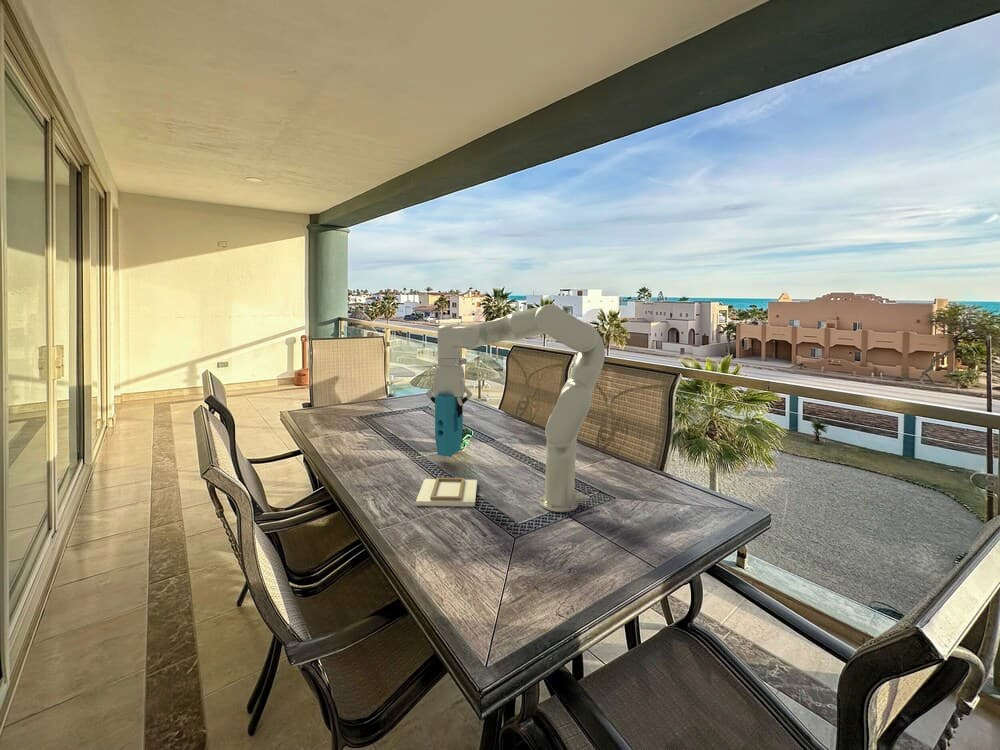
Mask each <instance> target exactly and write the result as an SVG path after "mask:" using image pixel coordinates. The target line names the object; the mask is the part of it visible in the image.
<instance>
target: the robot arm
mask: <svg viewBox="0 0 1000 750" xmlns="http://www.w3.org/2000/svg"><path fill="white" fill-rule="evenodd" d="M543 334H545V335H546V336H548V337H550V338H552V339H554V340H556V341H557V342H559V343H561V344H562V345H564V346H566V347H568V348H570V349H571V350H573V351H576V352H577V354H576V358H575V361H574V363H573V366H572V369H571V371H570V374H569V375H568V377H567V380H566V382H565V384H564V385H563V386H562V388H561V390H560V394H559V397H558V398H557V401H556V404H555V405H554V408H553V411H552V412H551V414H550V415H549V417H548V418H547V422H546V425H545V428H544V429H545V430H544V435H545V437H546V450H545V452H546V453H545V479H544V495H542V496H540V498H539V504H540V506H541V508H543V509H545V510H548V511H550V512H554V513H555V512H556V513H569V512H572V511H575V510H576V509H577V508H579V501H581V502H588V501H589V498H590V497H589V495H588V494H584V492H576V491H575V479H576V478H575V476H576V459H577V457H576V456H577V438H578V435H579V432H580V431H581V428H582V426H583V424H584V422H585V420H586V417H587V416H588V413H589V410H590V408H591V404H592V396H593V394H592V393H593V390H594V389H595V386H596V384H597V382H598V380H599V376H600V373H601V372H602V369H603V366H604V363H605V357H606V351H605V350H606V349H605V343H604V340H603V338H602V337H601V335H600V333H599V331H598V330H597V329H596V328H595V327H594V326H593V325H592V324H590V323H589V322H584V321H582V320H580V319H579V318H576V317H575V316H573V315H571V314H570V313H568V312H566V311H565V310H563V309H561V307H560V306H558V305H557V304H553V303H552V304H551V303H548V304H544V305H541V306H537V307H533V308H528V309H525V310H521V311H516V312H512V313H509V314H506V315H505V316H503V317H500V318H496V319H492V320H489V321H484V322H480V323H477V324H470V325H463V326H459V325H455V324H442V325H440V326H438V328H437V365H436V366H435V369H434V375H433V378H434V379H433V386H431V388H430V389H429V390H428V391H427V392H425V396H426V397H428V399H429V400H430V401H431V402H432V403H433V404H434V405H435V396H437V395H452V396H454V397H455V398H457V400H458V403H459V404H458V418H460V415H462V405H463V406H464V404H465V403H467V401H468V400H469V399H470V398H472V396H473V392H471V390H470V389H468V387H466V385H465V384H466V382H465V381H466V380H465V372H464V366H462V365H463V364H464V365H465V364H466V360H465V359H463V358H462V356H461V355H462V353H461V351H462V350H461V349H466V350H474V349H477V348H479V347H482V346H486V345H490V344H494V343H499V342H505V341H517V340H522V339H526V338H530V337H534V336H536V337H537V336H539V335H543ZM432 393H433V394H432ZM464 394H466V395H464ZM433 395H434V396H433ZM462 396H463V399H462Z"/></svg>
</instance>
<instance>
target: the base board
mask: <svg viewBox="0 0 1000 750" xmlns="http://www.w3.org/2000/svg"><path fill="white" fill-rule="evenodd" d="M477 487H478V479H466V478H465V477H436V478H435V479H434V478H424V480H423V482H422V485H421V487H420V490H419V492H418V495H417V497H416V500H415V506H418V507H419V506H420V507H421V506H424V507H425V506H426V507H427V506H429V507H430V506H431V507H433V506H434V507H475V506H476V497H477V489H478V488H477Z"/></svg>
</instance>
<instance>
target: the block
mask: <svg viewBox="0 0 1000 750" xmlns="http://www.w3.org/2000/svg"><path fill="white" fill-rule="evenodd" d="M434 397H435V404H434V439H435V447H436V453H437V455H438V456H439V457H440V456H441V457H449V458H450V457H453V456H454V455H455V454H456V453H458V452H460V451H461V446H462V440H463V439H462V438H463V437H462V436H463V431H464V430H463V426H464V425H463V423H464V417H463V415H464V408H463V407H464V404H463V405H462V415H460V418H458V404H459V403H458V400H457V398H455V397H454V396H452V395H437V396H434ZM463 398H464V395H463V396H462V399H463Z"/></svg>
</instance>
